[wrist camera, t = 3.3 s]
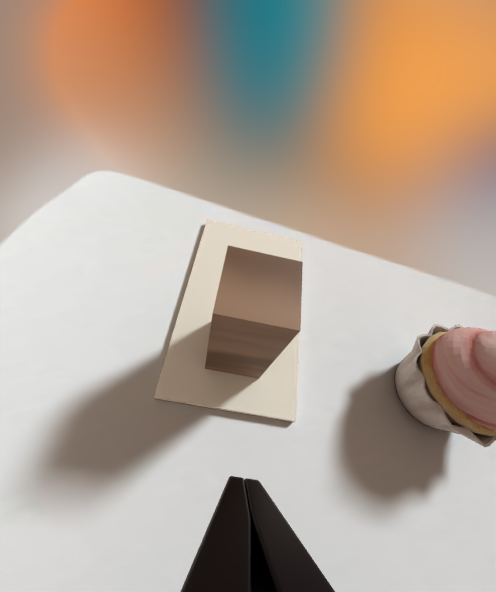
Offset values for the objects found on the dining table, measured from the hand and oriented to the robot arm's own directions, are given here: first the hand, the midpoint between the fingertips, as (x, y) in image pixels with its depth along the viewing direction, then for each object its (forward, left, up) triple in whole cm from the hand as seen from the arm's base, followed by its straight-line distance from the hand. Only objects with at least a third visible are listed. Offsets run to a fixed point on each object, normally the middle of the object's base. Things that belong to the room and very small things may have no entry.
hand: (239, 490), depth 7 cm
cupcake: (+17, -10, -14) cm, 25 cm away
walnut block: (+7, +5, -13) cm, 16 cm away
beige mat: (+11, +7, -14) cm, 19 cm away
